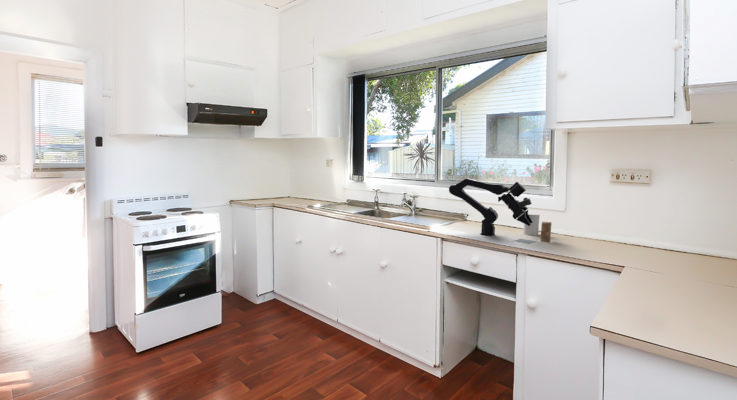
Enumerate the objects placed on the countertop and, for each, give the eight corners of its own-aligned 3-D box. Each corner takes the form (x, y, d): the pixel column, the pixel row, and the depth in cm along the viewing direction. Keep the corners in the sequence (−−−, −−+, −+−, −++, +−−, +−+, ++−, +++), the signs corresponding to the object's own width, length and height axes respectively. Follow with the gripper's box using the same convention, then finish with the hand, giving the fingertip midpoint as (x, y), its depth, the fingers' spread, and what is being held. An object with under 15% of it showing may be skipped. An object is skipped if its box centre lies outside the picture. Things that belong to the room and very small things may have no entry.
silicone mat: (512, 240, 217) (512, 240, 217) (520, 238, 223) (520, 238, 223) (529, 243, 211) (529, 243, 211) (536, 241, 217) (536, 241, 217)
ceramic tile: (536, 241, 217) (536, 241, 217) (538, 238, 224) (538, 238, 224) (552, 243, 214) (552, 243, 214) (553, 240, 221) (553, 240, 221)
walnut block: (540, 241, 218) (541, 222, 217) (541, 239, 222) (542, 221, 221) (549, 242, 216) (550, 223, 215) (550, 240, 220) (551, 222, 219)
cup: (535, 233, 241) (537, 213, 240) (540, 235, 233) (541, 215, 232) (521, 232, 242) (522, 212, 240) (525, 235, 234) (526, 214, 232)
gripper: (520, 194, 214) (541, 217, 210) (525, 191, 230) (544, 212, 227) (504, 207, 218) (524, 230, 215) (509, 204, 235) (528, 225, 231)
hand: (531, 224), depth 222 cm, fingers open, 9 cm apart
